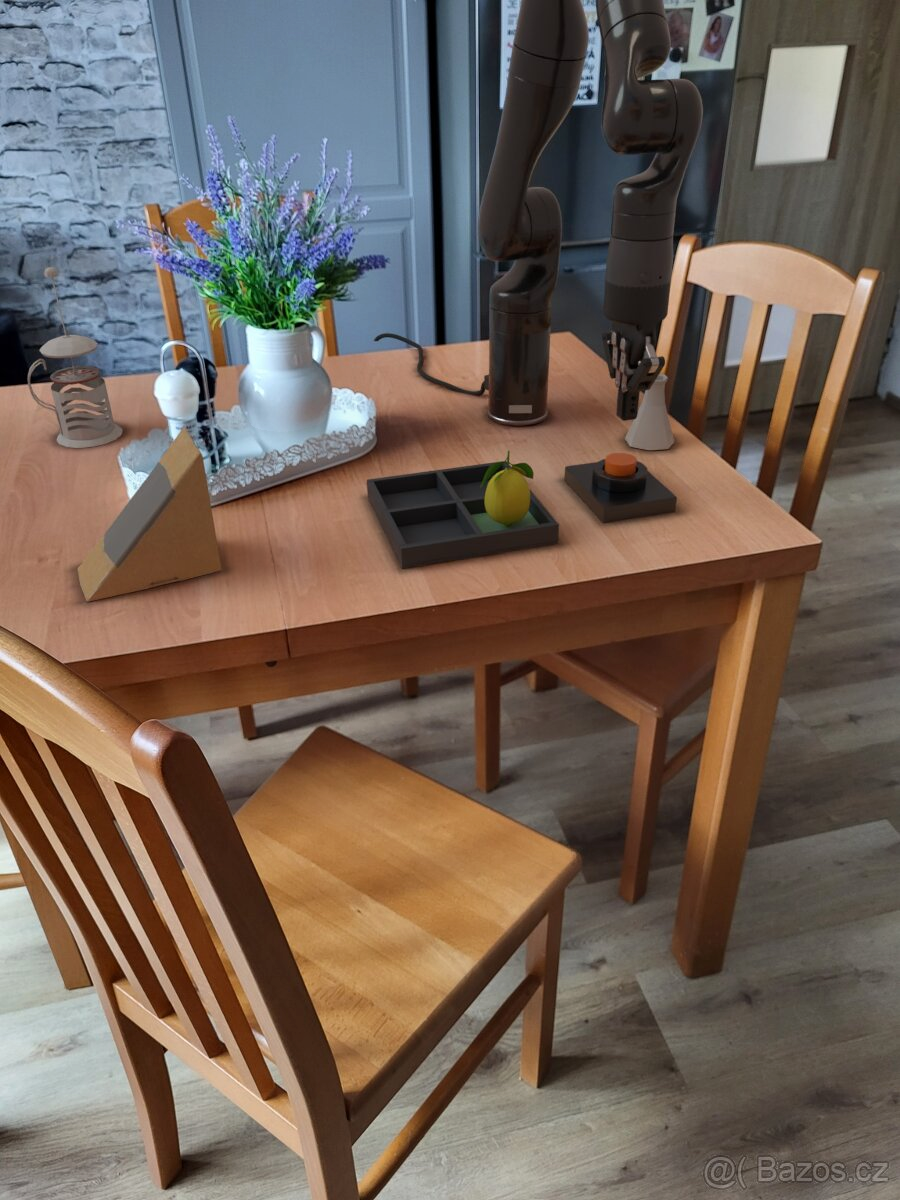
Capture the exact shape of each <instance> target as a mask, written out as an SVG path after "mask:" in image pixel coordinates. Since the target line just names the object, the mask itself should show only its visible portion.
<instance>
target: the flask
mask: <svg viewBox="0 0 900 1200" xmlns="http://www.w3.org/2000/svg"><path fill="white" fill-rule="evenodd" d="M668 380H669V377H668V376H667V375H666V374H664V373H663V374H662V373H659V375H658V377H657V378H656V380H655V381H654V383H653V385H652V386H651V388H650V389H649V390H644V394H643V397H642V401H641V403H640V406H639V407H638V414H637V418H636V419H634V420H633V421H632V423H631V425H630V427H629V429H628V431H627V433H626V435H625V437H624V440H625V441H626V443H627V445H629V447H631V448H636V449H641V450H646V451H657V450H658V451H659V450H661V451H662V450H669V449H670V448H671V447H672V445H674V443H675V438H674V435H673V431H672V427H671V422H670V420H669V419H670V418H669V415H668V410H667V405H666V395H665V388H666V383H667V382H668Z"/></svg>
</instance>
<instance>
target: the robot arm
mask: <svg viewBox="0 0 900 1200" xmlns="http://www.w3.org/2000/svg"><path fill="white" fill-rule="evenodd" d="M518 11H519V12H518V16H517V20H516V21H517V22H516V27H515V32H514V37H513V44H512V48H511V55H510V60H509V67H508V72H507V80H506V81H507V82H506V89H505V95H504V101H503V107H502V112H501V118H500V122H499V127H498V133H497V137H496V143H495V148H494V152H493V154H492V159H491V163H490V167H489V170H488V174H487V177H486V178H487V179H486V182H485V186H484V189H483V193H482V197H481V202H480V206H479V211H478V221H477V237H478V242H479V246H480V249H481V251H482V252H483V255H484V256H485V257H486V258H487V259H489V260H490V261H492V262H496V263H507V262H513V264H512V266H511V267H510V268H509V270H508V271H507V272H506V273H505V274H504V275H503V276H502V277H500V278H499V279H498V280H496V281H495V282H494V283H493V284H492V285H491V286H490V289H489V294H488V295H489V298H488V300H489V301H488V302H489V304H488V305H489V306H488V307H489V311H488V312H489V313H488V314H489V315H488V317H489V319H488V323H489V324H488V325H489V327H488V328H489V329H488V331H489V332H488V333H489V334H488V374H484V376H483V381H482V383H481V385H480V389H479V390H475V391H471V390H466V389H463V388H460V387H458V386H456V385H453V384H451V383H448V382H446V381H444V380H441V379H438V378H435V377H433V376H431V375H429V374H427V373H426V372H425V371H424V370H423V364H424V359H425V358H424V349H423V347H422V346H421V345H420V344H419V343H417V342H416V341H414V340H411V339H409V338H407V337H404V336H402V335H399V334H396V333H391V332H389V333H388V332H386V333H381V334H379V335H377V336H375V338H374V339H373V342H379V341H380V340H382V339H384V338H391V339H395V340H398V341H400V342H403V343H405V344H407V345H409V346H412V347H413V348H416V349H417V351H418V359H419V360H418V363H417V365H416V366H417V367H416V369H417V373H418V374H419V375H420V376H421V377H422V378H423V379H425V380H426V381H428V382H430V383H432V384H435V385H438V386H441V387H444V388H447V389H448V390H451V391H452V392H453V391H454V392H455V393H460V394H465V395H470V396H476V397H479V396H482V395H484V394H485V392H486V391H488V408H487V417H488V418H489V419H490V420H491V421H493V422H495V423H497V424H501V425H506V426H513V427H514V426H515V427H518V426H519V427H521V426H522V427H523V426H531V425H536V424H539V423H541V422H543V421H545V420H546V419H547V418H548V395H549V393H548V392H549V376H550V372H549V371H550V354H551V353H550V349H551V323H552V304H553V303H552V302H553V295H554V293H555V290H556V289H557V288H556V287H557V285H558V279H559V269H560V257H561V249H562V248H561V247H562V237H563V219H562V211H561V206H560V203H559V201H558V198H557V197H556V195H555V194H554V193H553V192H552V191H551V190H550V189H548V188H546V187H542V186H532V187H531V186H530V182H531V178H532V175H533V171H534V169H535V166H536V165H537V162H538V160H539V158H540V156H541V155H542V153H543V151H544V149H545V148H546V147H547V145H548V143H549V142H550V141H551V139H552V138H553V137H554V135H555V134H556V132H557V131H558V129H559V128H560V126H561V125H562V124H563V122H564V121H565V119H566V117H567V116H568V114H569V112H570V110H571V108H572V107H573V105H574V103H575V101H576V98H577V96H578V93H579V89H580V86H581V82H582V76H583V71H584V67H585V63H586V58H587V55H588V54H587V53H588V49H589V48H588V47H589V41H590V35H589V34H590V33H589V26H588V21H587V17H586V13H585V9H584V5H583V2H582V0H521V1H520V6H519V10H518ZM595 11H596V19H597V24H598V29H599V34H600V39H601V44H602V45H601V46H602V49H603V53H604V54H603V55H604V88H603V90H604V91H603V100H602V107H601V116H600V117H601V118H600V119H601V120H600V128H601V133H602V137H603V139H604V141H605V143H606V145H607V146H608V147H609V148H610V150H611V151H613V152H614V153H616V154H617V155H622V156H632V155H633V156H634V155H645V154H646V155H647V154H648V155H649V154H655V155H654V157H653V159H652V161H651V163H650V165H649V166H648V168H647V169H646V170H644V171H642V172H641V173H638V174H635V175H633V176H630V177H627V178H624V179H622V180H620V181H619V182H618V183H617V184H616V185H615V187H614V190H613V196H612V206H611V220H610V224H611V225H610V236H609V242H608V248H607V253H606V265H605V278H604V279H605V280H604V291H603V292H604V295H603V309H602V313H603V316H604V317H605V319H607V320H609V321H611V330H610V331H607V332H606V331H605V332H603V333H602V334H601V340H602V345H603V350H604V354H605V359H606V363H607V368H608V373H609V377H610V379H612V380H613V379H614V382H615V383H614V384H615V388H616V389H617V400H616V411H615V413H616V414H615V415H616V417H618V418H619V419H620V420H621V421H623V422H627V421H632V420H633V421H634V419H636V418H637V414H638V410H639V401H640V393H641V392H644V391H645V390H649V389H650V388H651V386H652V385H653V383H654V381H655V380H656V378H657V377H658V375H659V374H661V372H662V371H663V369H664V367H665V365H666V358H665V357H664V356H657V352H656V349H655V347H656V344H657V334H656V333H657V331H656V330H657V329H656V326H657V325H658V323H660V322H662V321H664V320H665V319H666V318H667V316H668V312H669V302H670V295H671V294H670V292H671V284H672V275H673V266H674V265H673V263H674V232H675V223H676V212H677V211H676V210H677V201H678V197H679V193H680V190H681V187H682V184H683V181H684V178H685V174H686V172H687V168H688V166H689V162H690V159H691V157H692V154H693V151H694V149H695V146H696V144H697V141H698V138H699V135H700V131H701V128H702V124H703V118H704V117H703V116H704V108H703V107H704V106H703V99H702V96H701V93H700V91H699V89H698V87H697V86H696V85H695V84H694V83H693V82H692V81H691V80H689V79H687V78H663V79H661V78H660V79H644V80H643V79H641V78H644V77H646V76H649V75H651V74H653V73H655V72H656V71H658V70H659V69H661V67H662V66H663V65H664V64H665V63H666V62H667V60H668V59H669V56H670V54H671V49H672V40H671V33H670V28H669V24H668V18H667V12H666V8H665V4H664V0H595ZM529 186H530V187H529Z"/></svg>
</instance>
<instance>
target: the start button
mask: <svg viewBox="0 0 900 1200" xmlns="http://www.w3.org/2000/svg"><path fill="white" fill-rule="evenodd" d="M604 459H605V472H606V473H608V474H611V475H614V476H630V475H633V474H635V473H636V464H637V461H638V459H637V457H636V456H634V455H633V454H631V453H626V452H613V453H609V454H608V455H606V456H605V458H604Z"/></svg>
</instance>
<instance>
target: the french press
mask: <svg viewBox="0 0 900 1200" xmlns="http://www.w3.org/2000/svg"><path fill="white" fill-rule="evenodd" d="M43 274H44V277H45V278H50V279H51V282H52V287H53V290H54V294H55V299H56V302H57V307H58V311H59V315H60V319H61V324H62V327H63V332H64V335H60V336H57V337H55V338H52V339H50V340H48V341H47V342H46V343H44V344H43V345H42V346H41V347H40V348H39V352H40V353H41V355H42V356H43V357H46V358H51V359H69V358H70V360H71V367H70V366H69V367H64V368H62V369H59V370H56V371H53V372H52V373H51V374H50V377H49V379H50V380H51V382H52V383H51V385H50V390H51V395H52V398H53V402H54V404H52V403H48V402H45V401H44V400H41V399H40V398H39V397H38V396H37V394H36V393H35V392H34V391H33V387H32V384H31V377H32V373H33V372H34V370H35V369H36V367H38V366H40V364H41V365H42V366H43V370H45V371H47V368H48V367H47V364H46V360H45V359H44V358H38V359H37V360H36V361H34V362H33V363H32V364H31V366H30V367H29V370H28V373H27V386H28V389H29V392H30V395H31V396H32V399H33V400H34V401H35V402H36V403H37V404H38V405H39V406H41V407H42V408H44V409H47V410H50V411H53V412H55V416H56V419H57V423H58V427H59V430H60V433H59V434H58V435H57V437H56V440H55V441H56V442H57V443H58V445H60V446H62V447H66V448H72V449H74V448H75V449H84V448H93V447H98V446H102V445H106V444H109V443H111V442H113V441H116V440H117V439H118V438H120V437H121V436H123V435H122V434H123V432H124V431H123V428H122V427H121V426H119V425H118V424H117V423H115V421H114V417H113V411H112V407H111V402H110V399H109V394H108V390H107V384H106V380H105V379H104V378H103V377H101V376H100V374H101V370H100V368H98V367H95V366H94V367H93V366H90V365H89V366H88V365H82V366H80V365H78V366H75V364H74V360H73V358H76V357H82V356H85V355H90V354H91V353H93V352H95V351H96V350H97V348H98V346H99V344H98V342H97V341H96V340H94V339H92V338H89V337H86V336H83V335H79V334H67V331H66V327H65V323H64V318H63V314H62V309H61V306H60V305H61V304H60V301H59V297H58V293H57V289H56V284H55V280H54V278H56V277H59V275H60V274H59V271H58V269H56V268H55V267H52V266H50V267H46V268H45V269H44V271H43ZM69 385H70V386H73V385H81V386H85V387H87V388H90V389H85V388H83V387H70V388H68V389H66V390H64V391H63V392H61V391H62V390H63V389H64V388H66V387H67V386H69ZM74 401H82V402H83V403H72V402H74ZM84 402H86V403H87V402H88V403H90V404H93V405H96V406H93V405H89V404H88V403H87V404H86V403H84ZM69 403H70V404H69ZM75 409H78V410H77V411H74V410H75ZM86 410H87V411H86ZM72 411H74V412H72ZM89 411H91V412H89ZM92 412H96V413H99V414H95V413H92Z"/></svg>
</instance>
